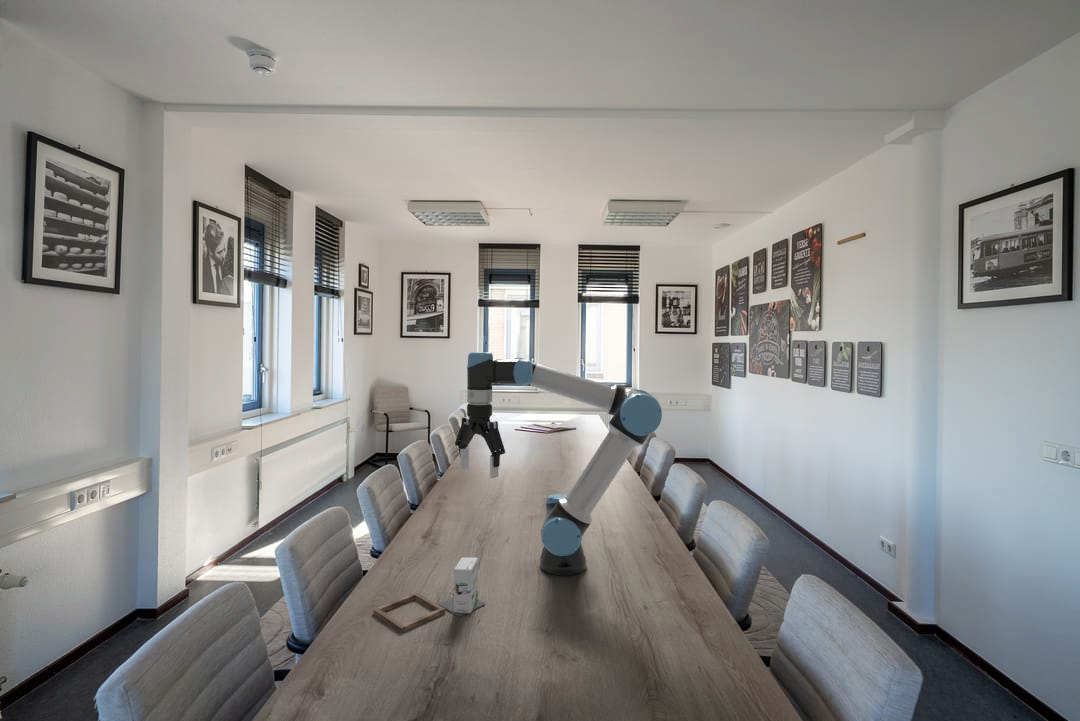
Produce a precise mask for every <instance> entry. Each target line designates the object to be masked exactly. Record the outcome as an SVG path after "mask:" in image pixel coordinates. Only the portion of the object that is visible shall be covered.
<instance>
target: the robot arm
mask: <svg viewBox="0 0 1080 721" xmlns="http://www.w3.org/2000/svg"><path fill="white" fill-rule="evenodd" d="M466 370H467V372H466V373H467V374H466V376H467V379H466V380H467V382H466V383H467V385H466V387H467V392H466V393H467V396H466V397H467V398H466V399H467V400H466V402H467V403H468V404H467V405H466V415H467V416H464V417H462V418H461V424H460V426H459V427H460V428H459V431H458V433H457V435H456V436H457V437H456V439H455V441H454V446H458V449H459V458H460V459H459V460H460V461H459V462H460V468H459V470H460V471H466V470H469V469H470V464H469V463H470V462H469V460H470V459H469V458H470V448H469V444H470V442H471V441H472V440H473V438H474V436H475V435H479V436H481V437H482V439H484V441H485V443H486V445H487V447H488V449H489V451H490V454H491V455H489V479H496V478H499V467H500V465H501V462H500V461H501V455H504V454H506V450H505V449H506V448H505V447H504V442H503V439H502V437H501V433H500V430H499V422H498V421H497V420H495V421H491V420H490V418H491V417H492V416H493V404H492V402H493V384H495V385H518V386H522V385H524V386H525V385H526V386H530V387H534V388H535V389H536V388H537V389H540V390H543V391H546V392H549V393H552V394H556V395H558V396H562V397H565V398H567V399H571V400H574V401H578V402H580V403H584V404H587V405H590V406H593V407H596V408H599V409H602V410H604V411H605V412H606V414H608V415H611V416H612V417H611V419H610V420H609V422H608V426H609V432H607V434H606V436H605V437H604V439H603V440H602V442H601V444H600V445H599V446H598V448H597V450H596V451H595V453H594V454H593V456H592V457H591V459H590V461H589V462H588V464H587V465H586V467H585V468H584V470H583V471H582V473H581V474H580V476H579V477H578V479H577V481H576V482H575V484H574V485H573V487H572V488H571V490H570V491H569V492H568V493H567V494H565V493H562V494H561V493H558V494H557V493H556V494H550V495H548V496H547V497H546V499H545V514H544V515H545V517H544V518H543V519H544V520H543V524H542V527H541V530H540V536H541V537H540V538H541V541H542V544H543V547H542V548H543V549H542V552H541V555H540V556H539V568H540V569H541V570H542V571H543V572H546V573H547V574H551V575H553V576H554V575H555V576H565V577H566V576H567V577H569V576H575V575H578V574H581V573H583V572H584V571H585V570H586V568H587V558H586V556H585V552H584V549H583V544H582V540H583V536H584V534H585V532H587V530H588V529H589V526H590V525H591V524H592V522H593V519H592V518H593V517H592V512H594V510H595V508H596V507H597V505H598V504H599V502H600V500H601V499H602V497H603V496H604V494H605V493H606V491H607V490H608V488H609V487H610V485H611V484H612V482H613V481H614V479H615V478H616V476H617V474H619V472H620V470H621V469H622V467H623V466H624V465H625V462H626V461H627V460H628V458H629V456H630V455H631V453H632V452H633V451H634V449H635V448H636V447H640V446H643V445H644V443H645V442H646V440H647V439H648V438H649V436H650V435H651V434H652V433H654V432H655V431H656V430H657V429H658V428H659V426H660V425H661V421H662V417H663V412H662V408H661V405H660V403H659V401H658V400H657V398H655V397H654V396H653V395H651V394H650V393H649V392H647V391H645V390H642V389H636V388H631V387H630V388H629V387H626V386H621V385H618V384H614V385H612V386H610V385H607V384H604V383H600V382H597V381H594V380H591V379H588V378H586V377H581V376H578V375H576V374H572V373H568V372H567V371H562V370H560V369H559V370H558V369H556V368H552V367H549V366H548V365H547V366H546V365H543V364H540V363H536V362H533V361H531V360H530V359H526V358H523V357H515V358H512V359H510V358H509V359H507V358H504V359H499V358H494V357H493V353H492V352H489V351H488V352H485V351H483V352H482V351H474V352H473V351H472V352H469V353H468V355H467V366H466Z"/></svg>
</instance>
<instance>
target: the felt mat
mask: <svg viewBox="0 0 1080 721" xmlns="http://www.w3.org/2000/svg"><path fill="white" fill-rule="evenodd" d="M438 605H440V606H441V607H443V608H445V611H448V612H450V613H451V614H453V615H455V616H456V617H458V618H460V617H463V616H465V615H467V614H468V613H457V612H454V596H453V597H451V598H449V599H446V600H445V601H441V602H440V603H438ZM483 606H486V603H485V602H483V601H481V600H480V599H477V601H476V603H475V605H474V607H473V609H472V612H473V611H475V610H478V609H479V608H482V607H483Z"/></svg>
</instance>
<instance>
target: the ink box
mask: <svg viewBox="0 0 1080 721" xmlns="http://www.w3.org/2000/svg"><path fill="white" fill-rule="evenodd" d="M453 597H454V612H457V613H467V614H471V613H472V612H473V611H472V609H473V607H474V605H475V603H476V601H477V600H479V599H478V598H479V558H478V557H461V558H460V560H459V562H458V563H457V565H456V566H455V567H454V569H453Z"/></svg>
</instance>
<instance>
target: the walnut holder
mask: <svg viewBox="0 0 1080 721" xmlns="http://www.w3.org/2000/svg"><path fill="white" fill-rule="evenodd" d="M414 600H416V602H417V601H418V602H419V603H421V604H422V605H424V606H426V607H427V608H430V609H431V610H433V611H430V612H429V613H426V614H423V615H421V616H420V617H419V616H418V617H417V618H414V619H413V620H411V621H407V622H406V623H401V622H399V621H398V620H397V619H395V618H394V617H392V616H391V615H389V614H388V613H386V612H387V611H390V610H393V609H394V608H397V607H399V606H402V605H404V604H407V603H409V602H411V601H414ZM372 613H373V615H375V616H376V617H377V618H378V619H380V620H381V621H383V622H384V623H386V624H388V625H389V626H390V627H392V628H394V629H395V630H397V632H399V633H401V634H403V633H405V632H408V631H409V630H412V629H414V628H416V627H418V626H420V625H423V624H424V623H427V622H429V621H432V620H434V619H435V618H437V617H440V616H442V615H444V614H446V609H445V608H443V607H441V606H440V605H439V603H436V602H434V601H433V600H431V599H430V598H427V597H426V596H424V595H422V594H421V593H419V592H417V591H416V592H412V593H410V594H407V595H405V596H402V597H401V598H398V599H396V600H393V601H391V602H388V603H385V604H383V605H380V606H378V607H375V608H373V609H372Z"/></svg>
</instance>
